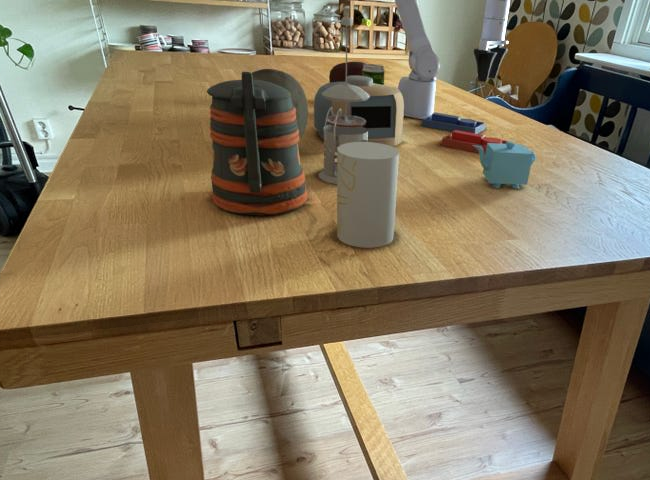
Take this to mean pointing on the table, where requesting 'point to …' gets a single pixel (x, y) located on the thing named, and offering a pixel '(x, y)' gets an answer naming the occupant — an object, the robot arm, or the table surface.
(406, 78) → the robot arm
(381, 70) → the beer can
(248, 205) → the tankard
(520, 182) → the teapot
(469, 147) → the red tray
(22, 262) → the table surface
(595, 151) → the table surface
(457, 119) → the blue spoon
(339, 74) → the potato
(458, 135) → the red spoon
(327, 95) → the french press
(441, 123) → the blue tray
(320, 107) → the alarm clock
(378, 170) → the cup
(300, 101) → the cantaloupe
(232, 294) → the table surface
